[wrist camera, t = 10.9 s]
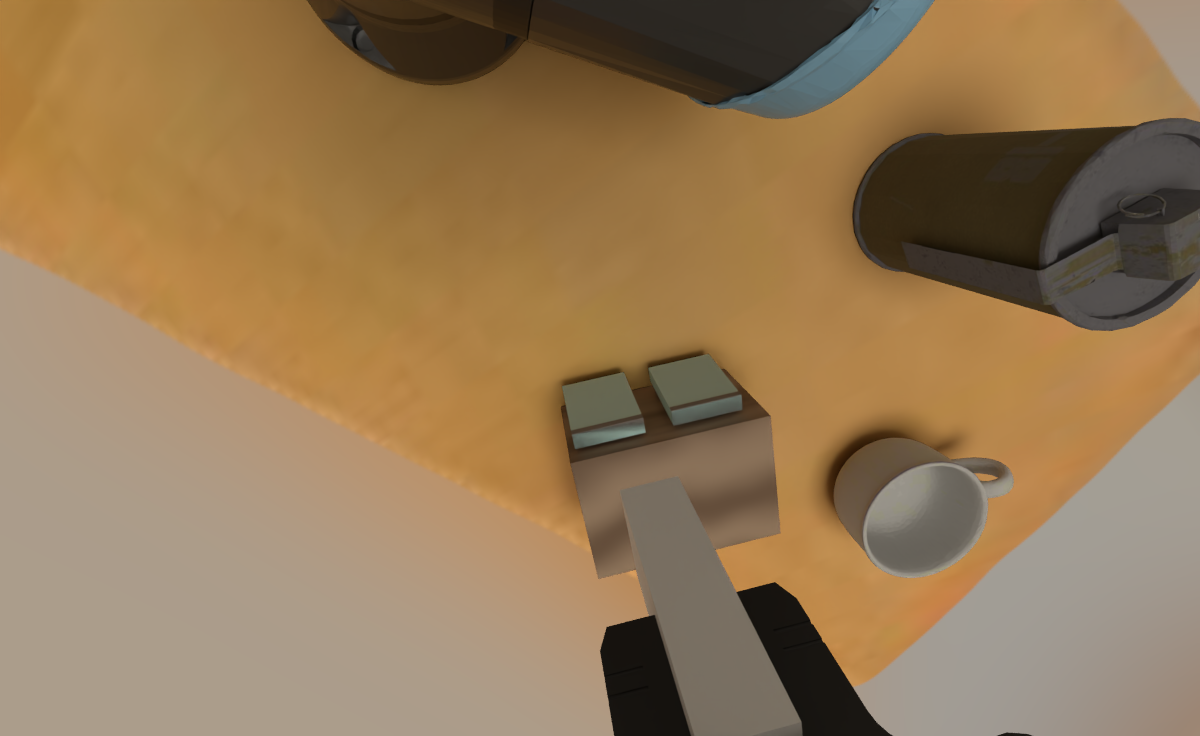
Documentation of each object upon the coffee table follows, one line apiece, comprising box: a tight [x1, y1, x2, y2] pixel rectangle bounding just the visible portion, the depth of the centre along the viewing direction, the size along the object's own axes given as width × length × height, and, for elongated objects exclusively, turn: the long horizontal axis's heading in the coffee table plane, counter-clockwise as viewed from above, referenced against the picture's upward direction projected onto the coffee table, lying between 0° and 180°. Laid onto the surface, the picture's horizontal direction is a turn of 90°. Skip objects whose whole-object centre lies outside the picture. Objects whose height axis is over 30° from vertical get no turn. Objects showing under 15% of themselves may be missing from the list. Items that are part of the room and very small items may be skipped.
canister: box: [853, 118, 1200, 331], centre depth 35 cm, size 11×10×20 cm
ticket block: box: [561, 369, 780, 579], centre depth 44 cm, size 10×14×9 cm
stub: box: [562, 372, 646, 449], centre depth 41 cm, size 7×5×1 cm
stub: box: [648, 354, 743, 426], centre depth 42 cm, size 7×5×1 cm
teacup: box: [834, 438, 1014, 578], centre depth 49 cm, size 14×11×8 cm
